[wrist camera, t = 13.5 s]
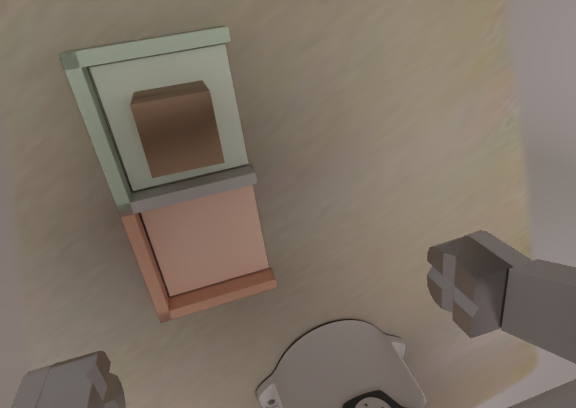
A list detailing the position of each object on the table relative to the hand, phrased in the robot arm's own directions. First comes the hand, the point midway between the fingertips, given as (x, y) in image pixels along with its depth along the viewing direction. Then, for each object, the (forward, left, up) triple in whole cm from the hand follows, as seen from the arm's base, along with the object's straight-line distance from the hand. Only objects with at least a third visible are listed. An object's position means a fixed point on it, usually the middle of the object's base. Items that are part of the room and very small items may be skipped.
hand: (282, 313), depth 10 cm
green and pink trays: (-6, +2, -25) cm, 25 cm away
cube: (0, +2, -24) cm, 24 cm away
